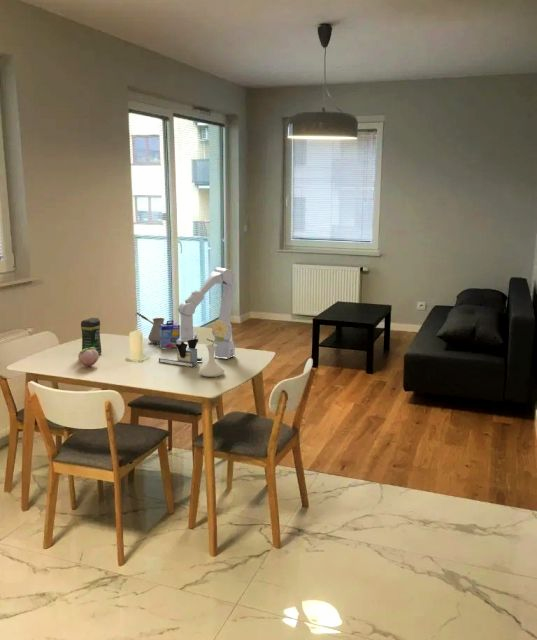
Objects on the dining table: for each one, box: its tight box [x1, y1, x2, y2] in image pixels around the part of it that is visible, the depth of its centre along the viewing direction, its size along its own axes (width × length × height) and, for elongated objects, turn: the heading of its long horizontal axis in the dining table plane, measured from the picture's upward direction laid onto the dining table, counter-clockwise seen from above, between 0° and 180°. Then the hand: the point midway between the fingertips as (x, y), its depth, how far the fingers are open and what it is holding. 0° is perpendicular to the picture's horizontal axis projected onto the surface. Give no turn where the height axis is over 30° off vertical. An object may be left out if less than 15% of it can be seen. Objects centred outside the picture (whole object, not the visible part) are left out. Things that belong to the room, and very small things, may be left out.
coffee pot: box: [134, 312, 166, 344], centre depth 333 cm, size 21×12×15 cm, turn 61°
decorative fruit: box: [77, 347, 100, 368], centre depth 284 cm, size 9×8×10 cm
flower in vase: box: [198, 319, 228, 378], centre depth 272 cm, size 13×11×25 cm
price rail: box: [158, 356, 203, 368], centre depth 294 cm, size 20×10×2 cm, turn 64°
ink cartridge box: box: [159, 320, 181, 349], centre depth 321 cm, size 10×6×14 cm, turn 115°
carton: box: [176, 347, 198, 364], centre depth 292 cm, size 5×8×7 cm, turn 64°
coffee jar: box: [80, 317, 102, 355], centre depth 304 cm, size 10×8×19 cm
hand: (187, 355), depth 292 cm, fingers open, 7 cm apart
